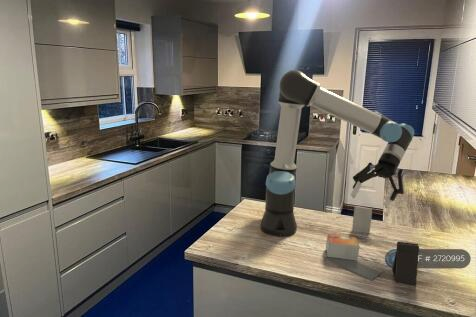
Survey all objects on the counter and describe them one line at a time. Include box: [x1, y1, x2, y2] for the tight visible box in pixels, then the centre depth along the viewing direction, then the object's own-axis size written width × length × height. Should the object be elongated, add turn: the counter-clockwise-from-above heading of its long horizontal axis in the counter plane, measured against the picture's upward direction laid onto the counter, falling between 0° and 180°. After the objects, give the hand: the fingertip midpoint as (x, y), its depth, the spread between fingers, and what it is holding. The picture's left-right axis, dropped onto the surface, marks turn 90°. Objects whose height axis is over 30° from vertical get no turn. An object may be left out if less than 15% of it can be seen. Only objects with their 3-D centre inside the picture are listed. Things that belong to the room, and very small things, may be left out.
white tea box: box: [351, 205, 373, 234], centre depth 149 cm, size 4×7×10 cm, turn 64°
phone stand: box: [391, 241, 420, 287], centre depth 115 cm, size 9×6×12 cm, turn 163°
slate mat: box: [323, 256, 382, 282], centre depth 123 cm, size 18×6×1 cm, turn 43°
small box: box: [325, 233, 360, 261], centre depth 129 cm, size 8×6×10 cm
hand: (368, 201), depth 138 cm, fingers open, 13 cm apart
